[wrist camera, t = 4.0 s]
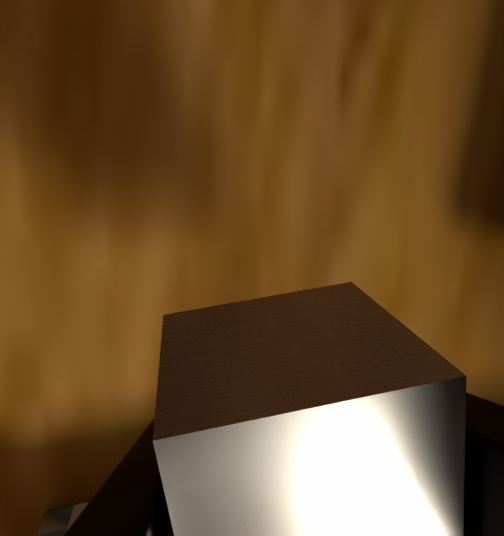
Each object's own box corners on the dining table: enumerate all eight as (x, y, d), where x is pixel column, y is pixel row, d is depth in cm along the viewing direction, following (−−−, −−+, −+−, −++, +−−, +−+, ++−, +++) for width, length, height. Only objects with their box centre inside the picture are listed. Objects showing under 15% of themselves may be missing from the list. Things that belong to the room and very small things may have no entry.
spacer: (351, 282, 10) (465, 375, 6) (360, 438, 11) (462, 602, 7) (163, 314, 9) (152, 440, 5) (195, 475, 10) (204, 672, 6)
